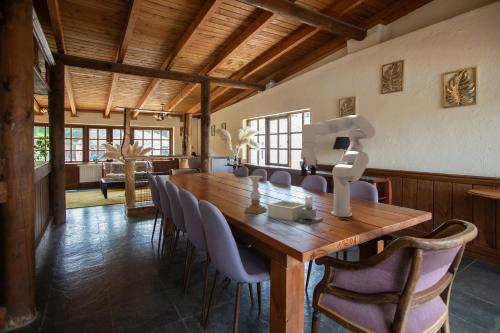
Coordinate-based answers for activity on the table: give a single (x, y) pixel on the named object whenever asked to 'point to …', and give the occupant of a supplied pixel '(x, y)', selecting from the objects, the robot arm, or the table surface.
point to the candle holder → (255, 197)
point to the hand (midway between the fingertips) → (308, 175)
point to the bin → (285, 210)
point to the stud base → (308, 220)
